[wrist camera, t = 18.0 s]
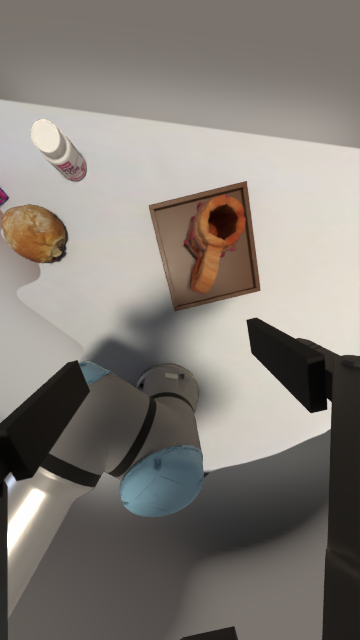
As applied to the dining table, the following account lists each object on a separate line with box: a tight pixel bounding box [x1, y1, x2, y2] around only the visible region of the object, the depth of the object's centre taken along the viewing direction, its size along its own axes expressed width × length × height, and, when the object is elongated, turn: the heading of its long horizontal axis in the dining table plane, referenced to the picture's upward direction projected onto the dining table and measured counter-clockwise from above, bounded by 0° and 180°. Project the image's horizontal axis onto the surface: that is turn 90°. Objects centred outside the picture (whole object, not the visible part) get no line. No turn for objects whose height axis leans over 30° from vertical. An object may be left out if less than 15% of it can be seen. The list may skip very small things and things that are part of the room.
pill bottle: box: [31, 119, 86, 181], centre depth 31 cm, size 5×5×8 cm
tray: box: [149, 181, 260, 311], centre depth 39 cm, size 21×19×2 cm
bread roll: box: [2, 204, 66, 263], centre depth 36 cm, size 10×10×8 cm
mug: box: [184, 194, 246, 294], centre depth 32 cm, size 15×8×15 cm, turn 164°
